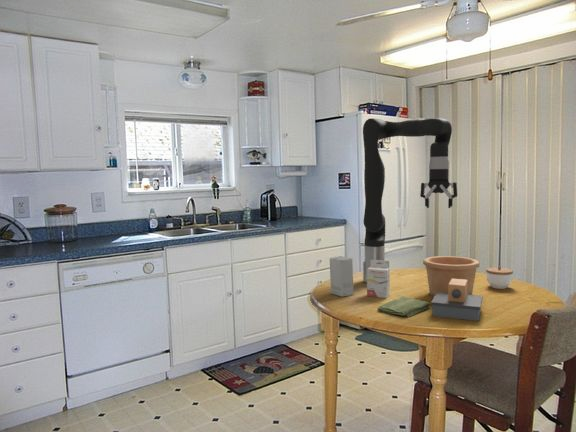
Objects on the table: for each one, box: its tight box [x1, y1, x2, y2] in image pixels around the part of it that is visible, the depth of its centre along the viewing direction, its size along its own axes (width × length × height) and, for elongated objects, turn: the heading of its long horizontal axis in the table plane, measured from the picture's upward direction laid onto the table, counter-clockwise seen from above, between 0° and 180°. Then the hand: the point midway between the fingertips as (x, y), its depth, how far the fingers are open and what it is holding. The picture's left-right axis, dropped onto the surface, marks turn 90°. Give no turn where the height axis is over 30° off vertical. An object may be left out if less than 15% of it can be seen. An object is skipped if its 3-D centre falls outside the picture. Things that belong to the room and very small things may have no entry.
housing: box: [448, 279, 468, 303], centre depth 164 cm, size 11×6×6 cm, turn 154°
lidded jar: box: [485, 265, 514, 290], centre depth 200 cm, size 11×11×9 cm
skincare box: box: [329, 256, 354, 298], centre depth 193 cm, size 8×7×16 cm
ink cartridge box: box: [366, 260, 391, 299], centre depth 189 cm, size 9×5×15 cm, turn 65°
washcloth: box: [377, 296, 431, 318], centre depth 169 cm, size 13×18×3 cm
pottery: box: [422, 255, 480, 298], centre depth 189 cm, size 22×22×14 cm
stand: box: [430, 292, 484, 322], centre depth 165 cm, size 16×16×5 cm
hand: (438, 207), depth 188 cm, fingers open, 8 cm apart
